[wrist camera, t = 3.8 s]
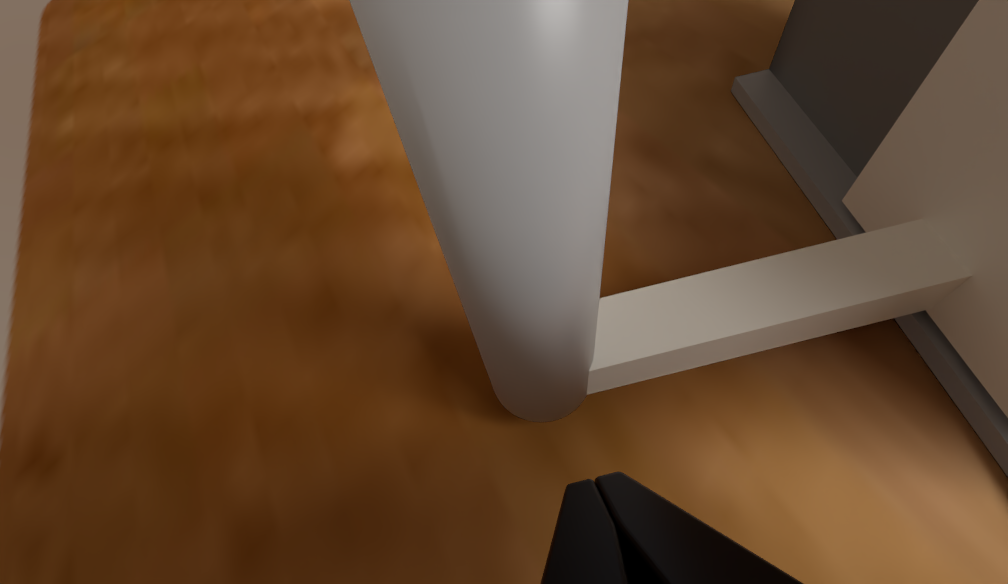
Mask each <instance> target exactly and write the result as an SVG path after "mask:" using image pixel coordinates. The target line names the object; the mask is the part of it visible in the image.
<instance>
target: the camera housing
mask: <svg viewBox="0 0 1008 584" xmlns="http://www.w3.org/2000/svg"><path fill="white" fill-rule="evenodd" d="M978 1H979V0H795V2H794V4H793V7H792V10H791V12H790V15H789V18H788V20H787V23H786V26H785V28H784V31H783V34H782V36H781V39H780V42H779V44H778V47H777V50H776V52H775V55H774V57H773V60H772V63H771V65H770V68H769V69H767V70H763V71H759V72H755V73H750V74H746V75H742V76H738V77H735V79H734V82H733V85H732V89H731V92H732V94H733V95H734V96H735V98H736V99H737V101H738V102H739V103H740V105H741V106H742V108H743V109H744V110H745V112H746V113H747V115H748V116H749V117H750V119H751V120H752V122H753V123H754V124H755V126H756V127H757V128H758V130H759V131H760V133H761V134H762V135H763V137H764V138H765V140H766V141H767V142H768V144H769V145H770V147H771V148H772V149H773V151H774V152H775V154H776V155H777V156H778V158H779V159H780V160H781V162H782V163H783V165H784V166H785V167H786V169H787V170H788V172H789V173H790V174H791V176H792V177H793V179H794V180H795V181H796V183H797V184H798V186H799V187H800V188H801V190H802V191H803V192H804V194H805V195H806V197H807V198H808V199H809V201H810V202H811V204H812V205H813V206H814V208H815V209H816V211H817V212H818V213H819V215H820V216H821V218H822V219H823V220H824V222H825V223H826V224H827V226H828V227H829V229H830V230H831V231H832V233H833V234H834V236H835V237H836V238H837V240H838V239H842V238H846V237H850V236H854V235H858V234H862V233H866V232H865V231H864V229H863V228H862V227H861V225H860V224H859V223H858V221H857V220H856V219H855V217H854V216H853V215H852V214H851V212H850V211H849V210H848V208H847V207H846V206H845V204H844V203H843V202H842V200H843V198H844V197H845V195H846V194H847V192H848V191H849V189H850V188H851V186H852V185H853V184H854V182H855V181H856V179H857V178H858V176H859V175H860V173H861V172H862V170H863V169H864V167H865V166H866V165H867V163H868V162H869V160H870V159H871V157H872V156H873V154H874V153H875V151H876V150H877V148H878V147H879V146H880V144H881V143H882V141H883V140H884V138H885V137H886V135H887V134H888V132H889V131H890V129H891V128H892V127H893V125H894V124H895V122H896V121H897V119H898V118H899V116H900V115H901V113H902V112H903V110H904V109H905V108H906V106H907V105H908V103H909V102H910V100H911V99H912V97H913V96H914V94H915V93H916V91H917V90H918V89H919V87H920V86H921V84H922V83H923V81H924V80H925V78H926V77H927V75H928V74H929V72H930V71H931V69H932V68H933V67H934V65H935V64H936V62H937V61H938V59H939V58H940V56H941V55H942V53H943V52H944V50H945V49H946V48H947V46H948V45H949V43H950V42H951V40H952V39H953V37H954V36H955V34H956V33H957V31H958V30H959V29H960V27H961V26H962V24H963V23H964V21H965V20H966V18H967V17H968V15H969V14H970V12H971V11H972V10H973V8H974V7H975V5H976V4H977V2H978ZM894 319H895V320H896V322H897V323H898V325H899V326H900V327H901V329H902V330H903V332H904V333H905V334H906V336H907V337H908V339H909V340H910V341H911V343H912V344H913V346H914V347H915V348H916V350H917V351H918V352H919V354H920V355H921V357H922V358H923V359H924V361H925V362H926V364H927V365H928V366H929V368H930V369H931V371H932V372H933V373H934V375H935V376H936V378H937V379H938V380H939V382H940V383H941V384H942V386H943V387H944V389H945V390H946V391H947V393H948V394H949V396H950V397H951V398H952V400H953V401H954V403H955V404H956V405H957V407H958V408H959V410H960V411H961V412H962V414H963V415H964V416H965V418H966V419H967V421H968V422H969V423H970V425H971V426H972V428H973V429H974V430H975V432H976V433H977V435H978V436H979V437H980V439H981V440H982V442H983V443H984V444H985V446H986V447H987V448H988V450H989V451H990V453H991V454H992V455H993V457H994V458H995V460H996V461H997V462H998V464H999V465H1000V467H1001V468H1002V469H1003V471H1004V472H1005V474H1006V475H1007V476H1008V418H1007V416H1006V415H1005V414H1004V412H1003V411H1002V410H1001V409H1000V407H999V406H998V405H997V403H996V402H995V401H994V399H993V398H992V397H991V395H990V394H989V393H988V392H987V390H986V389H985V388H984V386H983V385H982V384H981V382H980V381H979V380H978V378H977V377H976V376H975V375H974V373H973V372H972V371H971V369H970V368H969V367H968V365H967V364H966V363H965V361H964V360H963V359H962V357H961V356H960V355H959V354H958V352H957V351H956V350H955V348H954V347H953V346H952V344H951V343H950V342H949V340H948V339H947V338H946V337H945V335H944V334H943V333H942V331H941V330H940V329H939V327H938V326H937V325H936V323H935V322H934V321H933V320H932V318H931V317H930V316H929V314H928V313H927V312H926V310H924V311H920V312H916V313H912V314H908V315H904V316H900V317H896V318H894Z"/></svg>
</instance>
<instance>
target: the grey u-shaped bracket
mask: <svg viewBox="0 0 1008 584" xmlns="http://www.w3.org/2000/svg"><path fill="white" fill-rule="evenodd" d="M350 3H351V5H352V8H353V11H354V14H355V16H356V19H357V22H358V24H359V27H360V30H361V32H362V35H363V38H364V41H365V43H366V46H367V49H368V51H369V54H370V57H371V60H372V62H373V65H374V68H375V70H376V73H377V76H378V78H379V81H380V84H381V87H382V89H383V92H384V95H385V97H386V100H387V103H388V106H389V108H390V111H391V114H392V116H393V119H394V122H395V124H396V127H397V130H398V133H399V135H400V138H401V141H402V143H403V146H404V149H405V152H406V154H407V157H408V160H409V162H410V165H411V168H412V170H413V173H414V176H415V179H416V181H417V184H418V187H419V189H420V192H421V195H422V197H423V200H424V203H425V206H426V208H427V211H428V214H429V216H430V219H431V222H432V225H433V227H434V230H435V233H436V235H437V238H438V241H439V243H440V246H441V249H442V252H443V254H444V257H445V260H446V262H447V265H448V268H449V271H450V273H451V276H452V279H453V281H454V284H455V287H456V289H457V292H458V295H459V298H460V300H461V303H462V306H463V308H464V311H465V314H466V317H467V319H468V322H469V325H470V327H471V330H472V333H473V335H474V338H475V341H476V344H477V346H478V349H479V352H480V354H481V357H482V360H483V363H484V365H485V368H486V371H487V373H488V376H489V379H490V381H491V384H492V387H493V390H494V392H495V394H496V396H497V398H498V400H499V401H500V403H501V404H502V405H503V406H504V407H505V408H506V409H507V410H508V411H509V412H511V413H512V414H514V415H515V416H517V417H519V418H522V419H524V420H528V421H532V422H550V421H555V420H558V419H561V418H563V417H565V416H567V415H569V414H570V413H572V412H573V411H574V410H576V409H577V408H578V407H579V406H580V404H581V403H582V402H583V401H584V399H585V398H586V396H587V395H588V394H592V393H596V392H600V391H604V390H608V389H612V388H616V387H620V386H624V385H628V384H632V383H636V382H640V381H644V380H648V379H652V378H656V377H660V376H664V375H668V374H672V373H676V372H680V371H684V370H688V369H692V368H696V367H700V366H704V365H708V364H712V363H716V362H720V361H724V360H728V359H732V358H736V357H740V356H744V355H748V354H752V353H756V352H760V351H764V350H768V349H772V348H776V347H780V346H784V345H788V344H792V343H796V342H800V341H804V340H808V339H812V338H816V337H820V336H824V335H828V334H832V333H836V332H840V331H844V330H848V329H852V328H856V327H860V326H864V325H868V324H872V323H876V322H880V321H884V320H888V319H892V318H896V317H900V316H904V315H908V314H912V313H916V312H920V311H924V310H926V312H927V313H928V314H929V316H930V317H931V318H932V320H933V321H934V322H935V323H936V325H937V326H938V327H939V329H940V330H941V331H942V333H943V334H944V335H945V337H946V338H947V339H948V340H949V342H950V343H951V344H952V346H953V347H954V348H955V350H956V351H957V352H958V354H959V355H960V356H961V357H962V359H963V360H964V361H965V363H966V364H967V365H968V367H969V368H970V369H971V371H972V372H973V373H974V375H975V376H976V377H977V378H978V380H979V381H980V382H981V384H982V385H983V386H984V388H985V389H986V390H987V392H988V393H989V394H990V395H991V397H992V398H993V399H994V401H995V402H996V403H997V405H998V406H999V407H1000V409H1001V410H1002V411H1003V412H1004V414H1005V415H1006V416H1007V418H1008V0H979V1H978V2H977V4H976V5H975V7H974V8H973V10H972V11H971V12H970V14H969V15H968V17H967V18H966V20H965V21H964V23H963V24H962V26H961V27H960V29H959V30H958V31H957V33H956V34H955V36H954V37H953V39H952V40H951V42H950V43H949V45H948V46H947V48H946V49H945V50H944V52H943V53H942V55H941V56H940V58H939V59H938V61H937V62H936V64H935V65H934V67H933V68H932V69H931V71H930V72H929V74H928V75H927V77H926V78H925V80H924V81H923V83H922V84H921V86H920V87H919V89H918V90H917V91H916V93H915V94H914V96H913V97H912V99H911V100H910V102H909V103H908V105H907V106H906V108H905V109H904V110H903V112H902V113H901V115H900V116H899V118H898V119H897V121H896V122H895V124H894V125H893V127H892V128H891V129H890V131H889V132H888V134H887V135H886V137H885V138H884V140H883V141H882V143H881V144H880V146H879V147H878V148H877V150H876V151H875V153H874V154H873V156H872V157H871V159H870V160H869V162H868V163H867V165H866V166H865V167H864V169H863V170H862V172H861V173H860V175H859V176H858V178H857V179H856V181H855V182H854V184H853V185H852V186H851V188H850V189H849V191H848V192H847V194H846V195H845V197H844V198H843V200H842V202H843V203H844V204H845V206H846V207H847V208H848V210H849V211H850V212H851V214H852V215H853V216H854V217H855V219H856V220H857V221H858V223H859V224H860V225H861V227H862V228H863V229H864V231H865V232H866V233H862V234H858V235H854V236H850V237H846V238H842V239H838V240H834V241H830V242H826V243H822V244H818V245H814V246H810V247H806V248H802V249H797V250H793V251H789V252H785V253H781V254H777V255H773V256H769V257H765V258H761V259H757V260H753V261H749V262H745V263H741V264H737V265H733V266H729V267H725V268H720V269H716V270H712V271H708V272H704V273H700V274H696V275H692V276H688V277H684V278H680V279H676V280H672V281H668V282H664V283H660V284H656V285H652V286H648V287H643V288H639V289H635V290H631V291H627V292H623V293H619V294H615V295H611V296H607V297H603V298H600V287H601V277H602V267H603V257H604V246H605V236H606V226H607V215H608V205H609V195H610V184H611V174H612V164H613V153H614V143H615V133H616V123H617V112H618V102H619V92H620V81H621V71H622V61H623V50H624V40H625V30H626V20H627V9H628V0H350Z"/></svg>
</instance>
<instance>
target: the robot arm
mask: <svg viewBox="0 0 1008 584" xmlns="http://www.w3.org/2000/svg"><path fill="white" fill-rule="evenodd" d="M541 584H803V583H801V582H800V581H798V580H797V579H795V578H793V577H792V576H790V575H788V574H787V573H785V572H784V571H782V570H780V569H779V568H777V567H775V566H774V565H772V564H771V563H769V562H767V561H766V560H764V559H762V558H761V557H759V556H757V555H756V554H754V553H753V552H751V551H749V550H748V549H746V548H744V547H743V546H741V545H740V544H738V543H736V542H735V541H733V540H731V539H730V538H728V537H727V536H725V535H723V534H722V533H720V532H718V531H717V530H715V529H714V528H712V527H710V526H709V525H707V524H705V523H704V522H702V521H700V520H699V519H697V518H696V517H694V516H692V515H691V514H689V513H687V512H686V511H684V510H683V509H681V508H679V507H678V506H676V505H674V504H673V503H671V502H670V501H668V500H666V499H665V498H663V497H661V496H660V495H658V494H657V493H655V492H653V491H652V490H650V489H648V488H647V487H645V486H643V485H642V484H640V483H639V482H637V481H635V480H634V479H632V478H630V477H629V476H627V475H626V474H624V473H622V472H614V473H610V474H607V475H603V476H599V477H597V478H596V479H595V482H594V481H593V480H591V479H587V480H583V481H579V482H575V483H571V484H568V485H567V486H566V489H565V492H564V496H563V500H562V504H561V508H560V512H559V515H558V519H557V523H556V527H555V531H554V534H553V538H552V542H551V546H550V550H549V554H548V557H547V561H546V565H545V569H544V573H543V576H542V580H541Z"/></svg>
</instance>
